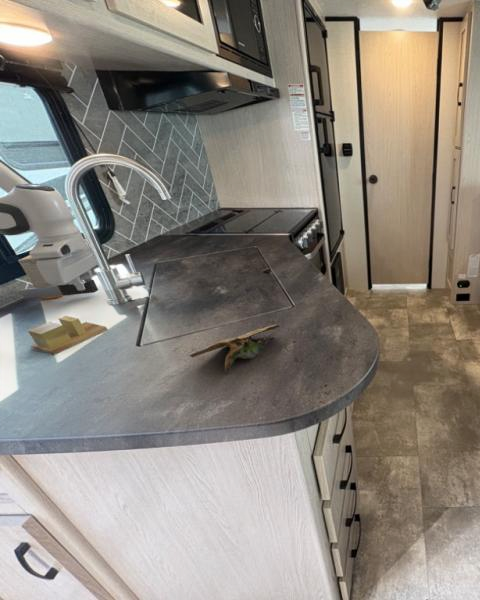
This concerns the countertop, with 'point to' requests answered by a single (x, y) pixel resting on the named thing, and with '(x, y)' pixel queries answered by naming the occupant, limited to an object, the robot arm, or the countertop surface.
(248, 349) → the dried leafy seed pod
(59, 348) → the butter board
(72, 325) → the butter slice
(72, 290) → the knife
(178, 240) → the countertop surface
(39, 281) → the supplement box
